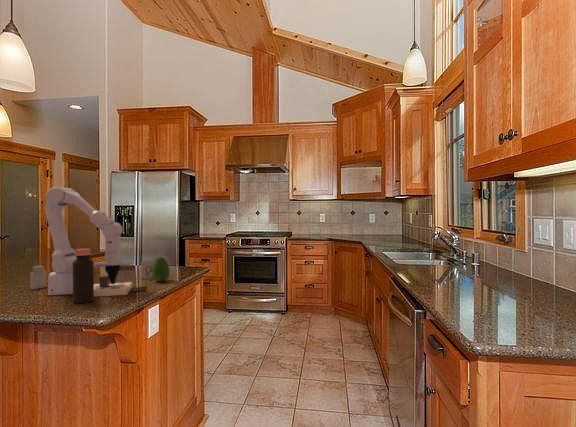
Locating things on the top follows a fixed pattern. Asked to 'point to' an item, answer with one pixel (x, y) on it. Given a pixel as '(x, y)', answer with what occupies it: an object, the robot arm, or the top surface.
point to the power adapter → (37, 277)
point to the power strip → (116, 289)
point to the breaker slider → (104, 281)
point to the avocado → (160, 270)
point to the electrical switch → (147, 269)
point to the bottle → (83, 277)
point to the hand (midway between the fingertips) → (113, 283)
